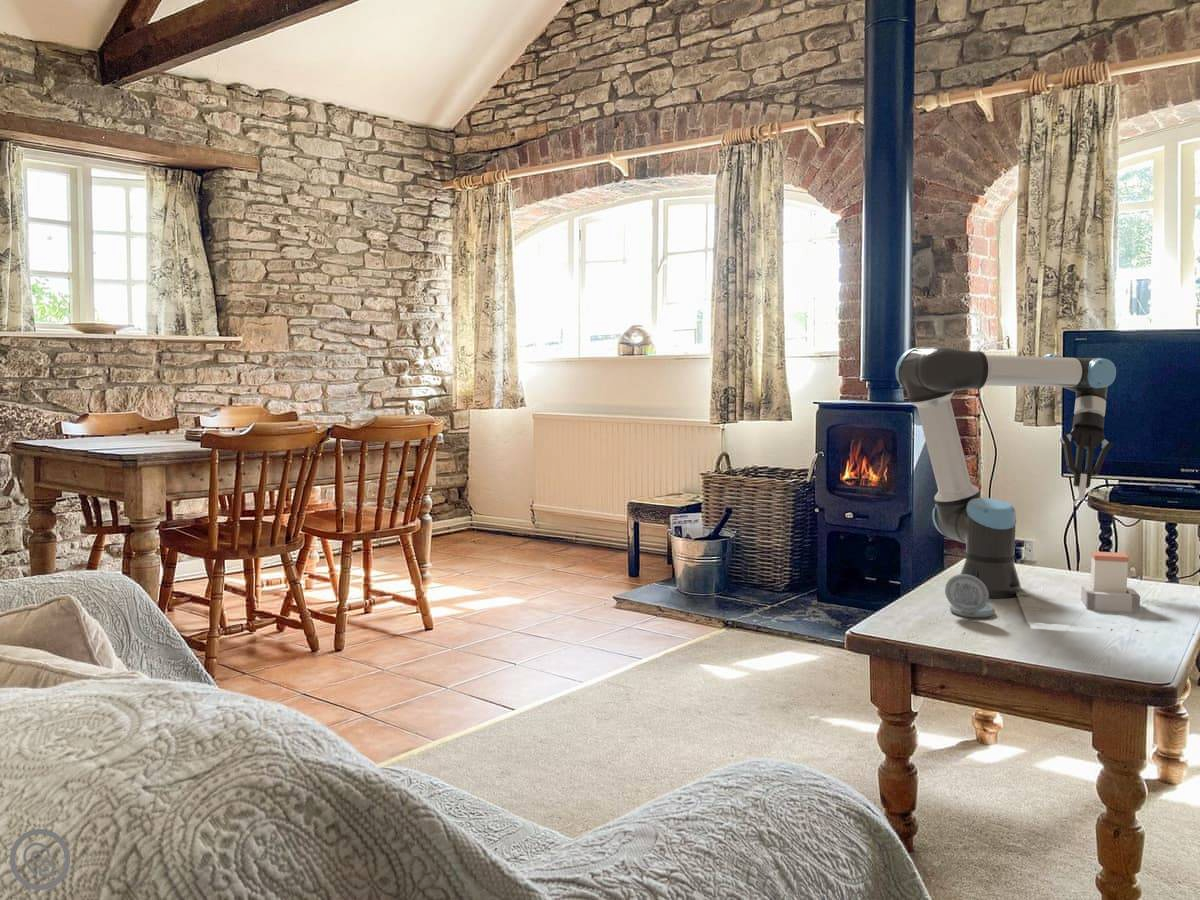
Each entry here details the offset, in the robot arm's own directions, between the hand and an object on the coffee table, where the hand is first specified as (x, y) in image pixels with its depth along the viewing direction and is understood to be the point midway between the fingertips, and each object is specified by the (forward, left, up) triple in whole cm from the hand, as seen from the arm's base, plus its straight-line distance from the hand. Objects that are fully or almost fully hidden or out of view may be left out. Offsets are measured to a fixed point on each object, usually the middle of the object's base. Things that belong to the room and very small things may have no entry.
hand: (1080, 498), depth 260 cm
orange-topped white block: (-1, -24, -22) cm, 33 cm away
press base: (-1, -24, -23) cm, 33 cm away
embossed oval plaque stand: (-34, -33, -23) cm, 53 cm away
